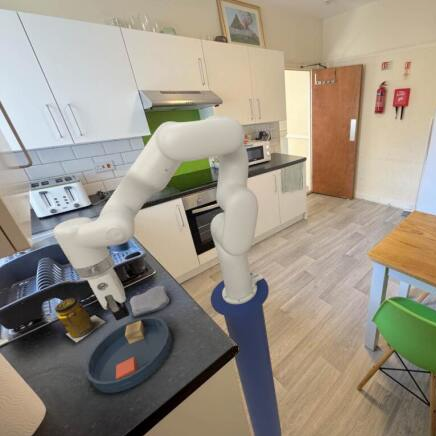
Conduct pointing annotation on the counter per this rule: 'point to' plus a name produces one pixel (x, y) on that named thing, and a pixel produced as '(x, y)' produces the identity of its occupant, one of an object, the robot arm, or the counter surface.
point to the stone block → (149, 301)
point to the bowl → (128, 355)
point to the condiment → (76, 319)
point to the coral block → (126, 368)
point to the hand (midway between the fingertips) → (123, 316)
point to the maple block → (135, 332)
